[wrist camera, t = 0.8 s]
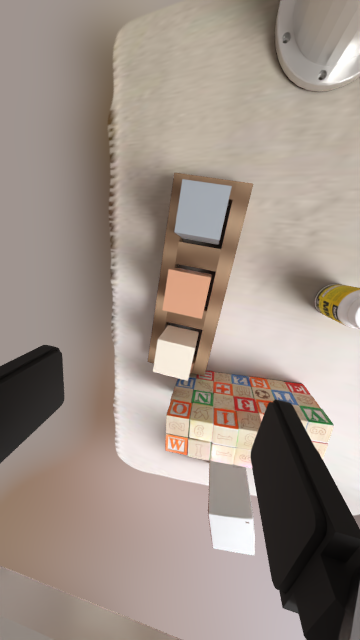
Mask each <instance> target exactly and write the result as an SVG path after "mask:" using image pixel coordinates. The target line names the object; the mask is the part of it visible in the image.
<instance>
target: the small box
mask: <svg viewBox="0 0 360 640" xmlns="http://www.w3.org/2000/svg"><path fill="white" fill-rule="evenodd" d="M208 517H209V525H210V532H211V539H212V546H213V548H214V549H220V550H225V551H231V552H236V553H242V554H248V555H255V532H254V520H253V512H252V505H251V498H250V491H249V485H248V478H247V472H246V467H243V466H237V465H234V464H232V465H230V464H225V463H220V462H214V461H211V460H210V467H209V503H208Z"/></svg>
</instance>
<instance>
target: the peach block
mask: <svg viewBox="0 0 360 640" xmlns="http://www.w3.org/2000/svg"><path fill="white" fill-rule="evenodd" d="M211 276H212V274H207V273H202V272H197V271H192V270H187V269H182V268H173V269H169V270H168V277H167V283H166V290H165V296H164V303H163V309H162V310H164V311H168V312H173V313H177V314H182V315H186V316H191V317H195V318H200V319H202V316H203V312H204V307H205V303H206V298H207V294H208V290H209V285H210V281H211Z"/></svg>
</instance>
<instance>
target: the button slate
mask: <svg viewBox="0 0 360 640" xmlns="http://www.w3.org/2000/svg"><path fill="white" fill-rule="evenodd" d="M231 187H232V186H227V185H220V184H213V183H206V182H199V181H192V180H185V179H182V186H181V192H180V199H179V205H178V212H177V218H176V225H175V231H174V232H175V233H176V234H177V235H179V236H180V237H182V238H183V239H189V240H194V241H200V242H206V243H211V244H217V245H219V241H220V236H221V232H222V227H223V223H224V218H225V214H226V210H227V205H228V201H229V196H230V192H231Z"/></svg>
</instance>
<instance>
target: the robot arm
mask: <svg viewBox="0 0 360 640" xmlns="http://www.w3.org/2000/svg"><path fill="white" fill-rule="evenodd" d="M275 45H276V51H277V56H278V60H279V62H280V65H281V67H282V69H283V71H284V72H285V74H286V75H287V76H288V78H289V79H290V80H291V81H292V82H294V83H295V84H296V85H297V86H299V87H302V88H304V89H306V90H311V91H318V92H319V91H330V90H333V89H336V88H340V87H342V86H344V85H346V84H348V83H350V82H352V81H354V80H355V79H357V78H358V77H360V0H280V4H279V9H278V13H277V18H276V27H275ZM63 401H64V382H63V364H62V353H61V352H60V350H59V348H56V347H53V346H48V345H43V346H40V347H38V348H36V349H34V350H32V351H30V352H28V353H26V354H24V355H22V356H20V357H18V358H16V359H14V360H12V361H10V362H8V363H6V364H4V365H2V366H0V463H1V462H2V461H3V460H4V459H5V458H6V457H8V456H9V455H10V454H11V453H12V452H13V451H14V450H15V449H16V448H17V447H18V446H19V445H20V444H21V443H22V442H23V441H24V440H26V439H27V437H29V436H30V435H31V434H32V433H33V432H34V431H35V430H36V429H37V428H38V427H39V426H40V425H41V424H42V423H44V421H46V419H48V418H49V417H50V416H51V415H52V414H53V413H54V412H55V411H56V410H57V409H58V408H59V407H60V406H61V405H62V404H63ZM251 463H252V469H253V475H254V481H255V486H256V492H257V498H258V503H259V508H260V515H261V520H262V526H263V532H264V537H265V543H266V549H267V555H268V560H269V566H270V572H271V577H272V581H273V584H274V586H275V588H276V589H277V590H280V596H281V601H282V606H283V608H284V609H287V610H290V611H293V612H296V613H298V614H299V616H300V620H301V625H302V629H303V633H304V636H305V638H306V640H360V529H359V527H358V525H357V523H356V521H355V519H354V518H353V516H352V514H351V512H350V510H349V508H348V506H347V504H346V503H345V501H344V499H343V497H342V495H341V493H340V491H339V490H338V488H337V486H336V484H335V482H334V480H333V478H332V476H331V475H330V473H329V471H328V469H327V467H326V465H325V463H324V461H323V460H322V458H321V456H320V454H319V452H318V451H317V449H316V448H315V446H314V445H313V443H312V441H311V439H310V437H309V435H308V433H307V431H306V429H305V428H304V426H303V424H302V422H301V420H300V418H299V416H298V414H297V412H296V411H295V409H294V407H293V405H292V404H291V403H289V402H285V401H281V400H277V399H275V400H274V401H273V402H269V403H268V405H267V408H266V411H265V413H264V416H263V419H262V421H261V424H260V427H259V430H258V432H257V435H256V438H255V440H254V443H253V446H252V448H251ZM0 640H181V639H179V638H177V637H174V636H172V635H169V634H167V633H164V632H162V631H160V630H157V629H155V628H152V627H150V626H147V625H145V624H142V623H140V622H138V621H135V620H132V619H130V618H128V617H126V616H123V615H121V614H118V613H116V612H113V611H111V610H109V609H106V608H104V607H101V606H99V605H96V604H94V603H91V602H89V601H86V600H84V599H82V598H79V597H77V596H74V595H72V594H69V593H67V592H64V591H62V590H59V589H57V588H54V587H52V586H49V585H47V584H44V583H42V582H40V581H37V580H35V579H32V578H29V577H27V576H24V575H22V574H20V573H17V572H15V571H12V570H10V569H7V568H5V567H2V566H0Z"/></svg>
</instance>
